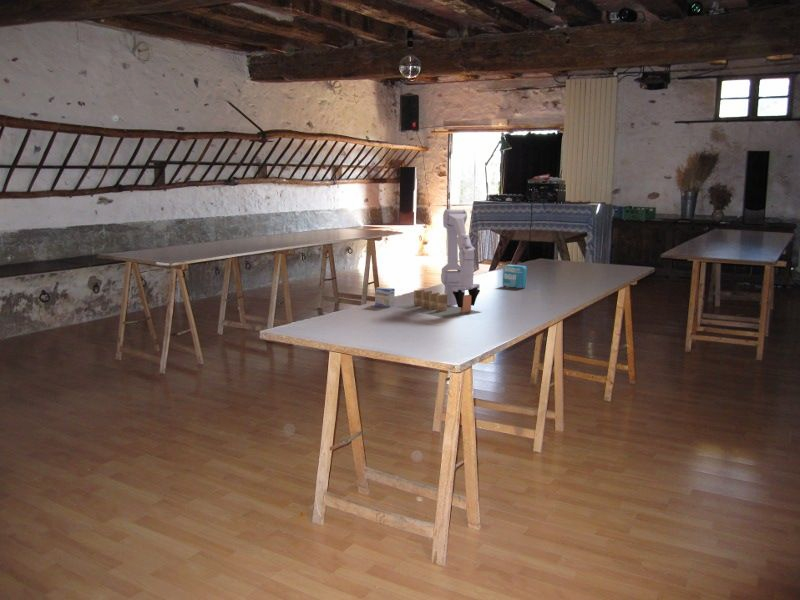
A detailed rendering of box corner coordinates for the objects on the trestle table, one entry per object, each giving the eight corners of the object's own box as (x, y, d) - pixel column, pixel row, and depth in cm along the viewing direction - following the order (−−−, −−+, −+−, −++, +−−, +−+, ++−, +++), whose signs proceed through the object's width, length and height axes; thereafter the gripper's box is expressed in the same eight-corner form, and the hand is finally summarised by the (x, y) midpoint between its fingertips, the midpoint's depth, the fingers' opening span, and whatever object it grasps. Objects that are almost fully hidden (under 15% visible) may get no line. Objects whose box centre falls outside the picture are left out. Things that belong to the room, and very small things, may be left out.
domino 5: (460, 312, 299) (460, 295, 298) (468, 310, 302) (469, 294, 301) (462, 312, 298) (463, 296, 297) (470, 311, 301) (471, 295, 300)
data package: (502, 286, 373) (503, 265, 371) (505, 285, 377) (506, 264, 375) (523, 289, 367) (524, 266, 365) (526, 287, 370) (527, 266, 368)
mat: (432, 302, 324) (432, 301, 324) (481, 313, 300) (481, 312, 300) (396, 307, 310) (396, 306, 310) (445, 319, 286) (445, 318, 286)
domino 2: (421, 307, 308) (421, 291, 307) (429, 306, 312) (429, 290, 310) (423, 308, 307) (423, 292, 306) (431, 306, 310) (431, 291, 309)
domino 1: (413, 305, 312) (414, 290, 311) (422, 304, 315) (422, 289, 314) (416, 306, 311) (416, 290, 310) (424, 305, 314) (424, 289, 313)
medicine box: (374, 306, 312) (374, 288, 310) (379, 305, 316) (379, 286, 314) (389, 308, 308) (390, 289, 307) (394, 306, 312) (394, 288, 310)
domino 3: (428, 309, 305) (429, 293, 303) (436, 308, 308) (437, 292, 307) (430, 309, 304) (431, 293, 302) (439, 308, 307) (439, 292, 305)
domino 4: (436, 311, 301) (436, 295, 300) (444, 309, 304) (444, 293, 303) (438, 311, 300) (439, 295, 298) (446, 310, 303) (447, 294, 302)
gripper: (461, 278, 290) (460, 309, 292) (485, 275, 299) (483, 305, 301) (449, 276, 295) (449, 306, 298) (473, 273, 304) (472, 303, 307)
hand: (465, 306), depth 300 cm, fingers open, 7 cm apart
